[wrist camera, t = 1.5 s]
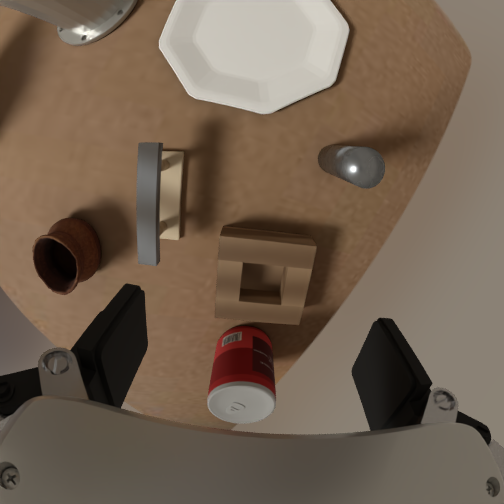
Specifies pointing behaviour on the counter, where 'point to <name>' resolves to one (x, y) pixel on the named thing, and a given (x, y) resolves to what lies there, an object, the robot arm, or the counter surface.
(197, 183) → the counter surface
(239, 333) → the canned food
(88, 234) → the ceramic pot
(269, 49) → the plate
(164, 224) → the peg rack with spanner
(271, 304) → the block with square hole
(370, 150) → the pin
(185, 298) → the counter surface
